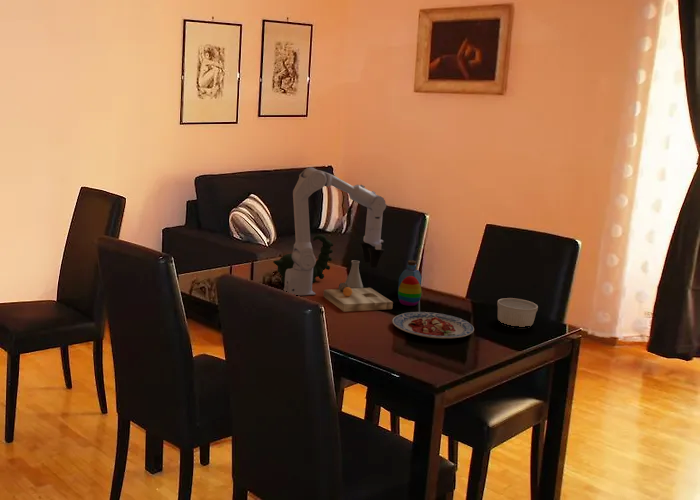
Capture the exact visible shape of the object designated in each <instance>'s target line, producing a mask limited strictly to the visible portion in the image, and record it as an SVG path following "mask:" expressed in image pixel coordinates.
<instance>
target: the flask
mask: <svg viewBox="0 0 700 500" xmlns="http://www.w3.org/2000/svg"><path fill="white" fill-rule="evenodd" d="M350 263H351V266H350V270H349V273H348V275H347V278H346V280H345V282H344V283H346V284H347V285H348V287H350V288H351V289H354V288H364V285H363V282H362V281H363V280H362V278H361V274H360V269H359V267H360V263H361V262H360V260H355V259H354V260H351V261H350Z"/></svg>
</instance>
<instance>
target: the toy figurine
mask: <svg viewBox="0 0 700 500" xmlns="http://www.w3.org/2000/svg"><path fill="white" fill-rule="evenodd" d="M317 240H319V241H320V242H321V243H322V245H321V247H320V251H319V252H320V253H319V254H318V256H317V259H316V264H315V266H314V267H313V281H312V284H314V283H315V282H316V281H317V279H316V278H319V279H320V280H322V279H324V278H325V275H324V271H325V270H327V271H329V270H331V266H330V265H329V264H328V263H329V262H331V261H332V260H333V259H332V257H330V254H332V253H333V252H334V251H333V249H331V247H333V246H334V243H333V242H332V241H331V240H329V239H327V237H326V235H325V234H322V233H321V234H320V233H319V234H317V235H315V236H314V237H313V238H312V241H313V242H315V241H317ZM272 263H273V264H274V265H275V266H277V272H278V274H279V275H280V276H281V278H280V280H281V281H280V282H282V283H283V284H285V272H286V270H287V269H291V268H293V265H294V261H293V260H292V253H286V254H284V255H282V256H281V257H280V258H279V259H277V260H273V261H272Z"/></svg>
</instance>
